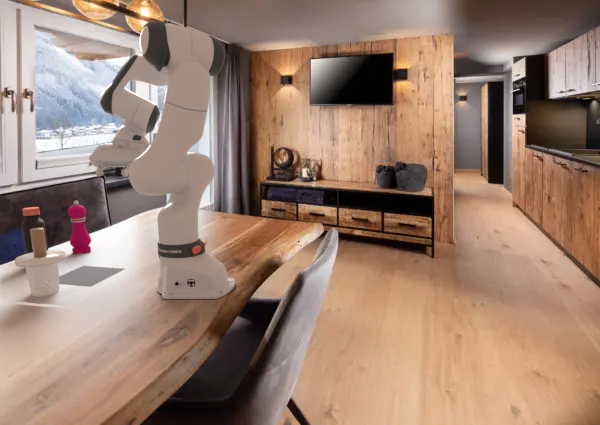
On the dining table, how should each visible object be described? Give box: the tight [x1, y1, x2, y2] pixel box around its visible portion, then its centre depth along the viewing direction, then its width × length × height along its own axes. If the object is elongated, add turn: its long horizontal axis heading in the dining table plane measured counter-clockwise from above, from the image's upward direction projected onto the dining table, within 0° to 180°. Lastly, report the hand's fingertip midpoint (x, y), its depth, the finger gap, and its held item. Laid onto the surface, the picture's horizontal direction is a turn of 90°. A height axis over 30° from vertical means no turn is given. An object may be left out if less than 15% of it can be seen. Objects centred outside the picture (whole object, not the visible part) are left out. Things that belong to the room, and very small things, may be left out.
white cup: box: [24, 262, 60, 298], centre depth 115 cm, size 8×8×10 cm
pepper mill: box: [67, 200, 92, 255], centre depth 155 cm, size 7×7×20 cm
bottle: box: [20, 206, 49, 254], centre depth 140 cm, size 7×7×20 cm
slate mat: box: [59, 265, 125, 287], centre depth 129 cm, size 16×16×1 cm
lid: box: [14, 228, 67, 268], centre depth 113 cm, size 12×12×9 cm
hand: (111, 175), depth 133 cm, fingers open, 8 cm apart
